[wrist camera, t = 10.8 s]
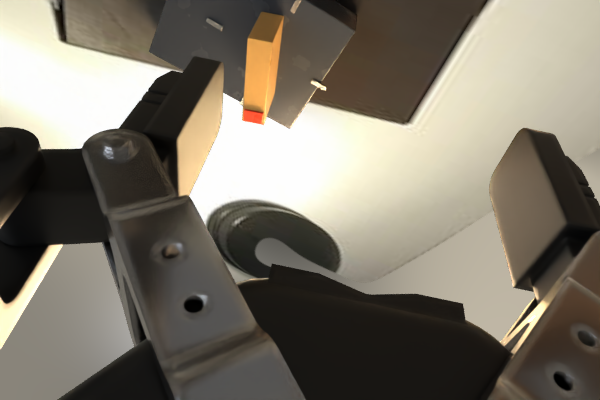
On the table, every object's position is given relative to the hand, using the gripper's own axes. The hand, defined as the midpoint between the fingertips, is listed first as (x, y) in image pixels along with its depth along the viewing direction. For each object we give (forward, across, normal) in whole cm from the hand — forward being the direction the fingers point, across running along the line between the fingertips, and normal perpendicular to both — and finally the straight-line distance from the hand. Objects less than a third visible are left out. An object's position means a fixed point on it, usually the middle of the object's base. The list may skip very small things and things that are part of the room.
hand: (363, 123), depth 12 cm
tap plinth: (+28, +8, +10) cm, 31 cm away
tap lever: (+25, +6, +11) cm, 28 cm away
